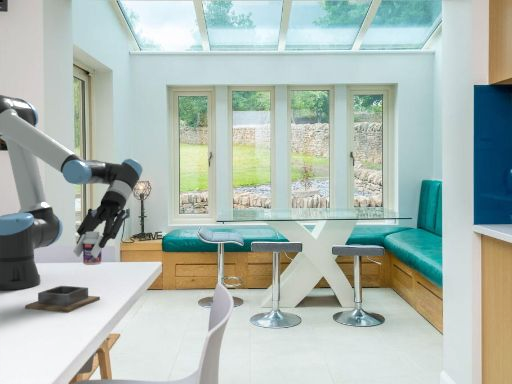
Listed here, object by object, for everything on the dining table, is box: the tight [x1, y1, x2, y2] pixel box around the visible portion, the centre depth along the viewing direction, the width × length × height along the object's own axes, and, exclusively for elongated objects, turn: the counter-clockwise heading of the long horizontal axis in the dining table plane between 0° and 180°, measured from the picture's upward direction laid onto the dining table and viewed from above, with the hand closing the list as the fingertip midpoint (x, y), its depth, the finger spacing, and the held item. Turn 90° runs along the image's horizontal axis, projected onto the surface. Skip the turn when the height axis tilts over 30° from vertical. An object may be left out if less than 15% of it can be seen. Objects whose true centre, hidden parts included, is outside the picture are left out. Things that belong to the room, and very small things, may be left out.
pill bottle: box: [82, 231, 103, 266], centre depth 153 cm, size 5×5×10 cm
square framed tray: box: [25, 285, 101, 313], centre depth 141 cm, size 14×14×4 cm
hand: (84, 254), depth 149 cm, fingers closed on pill bottle, 5 cm apart
